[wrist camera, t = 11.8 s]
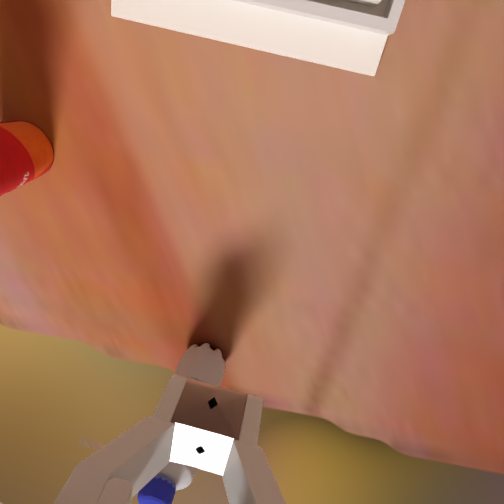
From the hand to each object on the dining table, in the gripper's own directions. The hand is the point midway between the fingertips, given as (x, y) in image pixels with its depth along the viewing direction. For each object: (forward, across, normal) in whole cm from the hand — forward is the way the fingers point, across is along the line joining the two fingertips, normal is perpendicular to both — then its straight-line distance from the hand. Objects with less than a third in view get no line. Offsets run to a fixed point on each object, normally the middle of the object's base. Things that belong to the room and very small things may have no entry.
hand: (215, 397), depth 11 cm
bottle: (+29, -4, -28) cm, 41 cm away
